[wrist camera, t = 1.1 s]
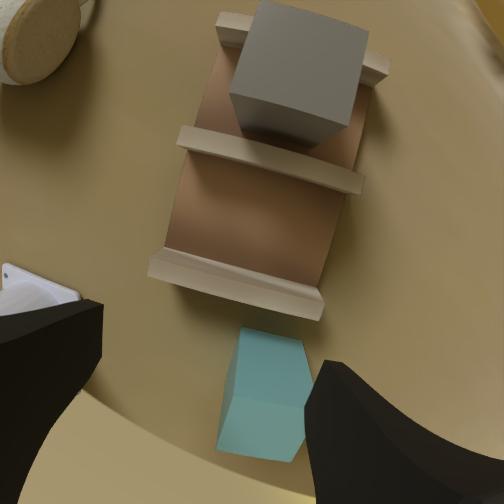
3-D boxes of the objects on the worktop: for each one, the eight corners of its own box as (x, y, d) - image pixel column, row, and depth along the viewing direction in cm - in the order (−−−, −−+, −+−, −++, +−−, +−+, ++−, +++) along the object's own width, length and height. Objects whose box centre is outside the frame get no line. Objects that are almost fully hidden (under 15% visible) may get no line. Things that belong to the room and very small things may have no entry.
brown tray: (309, 298, 19) (318, 321, 15) (165, 260, 18) (146, 275, 15) (370, 77, 16) (391, 59, 12) (226, 37, 15) (221, 11, 12)
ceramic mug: (54, 99, 16) (-21, 74, 9) (-5, 83, 15) (-67, 65, 8) (126, -22, 14) (86, -79, 7) (57, -23, 13) (13, -62, 6)
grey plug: (311, 148, 16) (348, 126, 9) (240, 128, 16) (228, 92, 9) (328, 84, 15) (369, 31, 8) (259, 64, 15) (260, -1, 8)
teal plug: (282, 387, 20) (290, 462, 13) (226, 375, 20) (215, 449, 13) (301, 340, 19) (320, 411, 13) (241, 326, 19) (233, 395, 12)
